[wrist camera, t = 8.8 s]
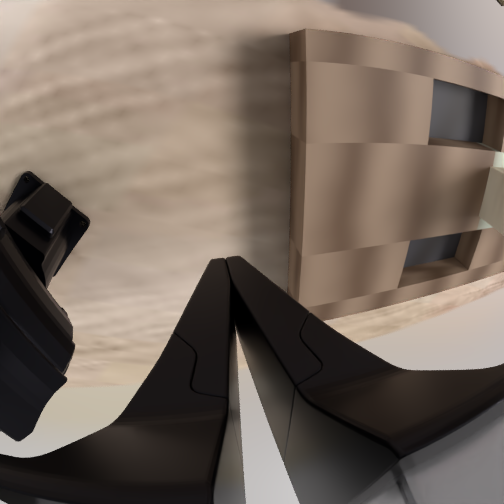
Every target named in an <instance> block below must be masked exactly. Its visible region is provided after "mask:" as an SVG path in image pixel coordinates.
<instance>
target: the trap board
mask: <svg viewBox="0 0 504 504" xmlns="http://www.w3.org/2000/svg"><path fill="white" fill-rule="evenodd" d="M289 37H290V77H291V196H290V239H289V269H288V295H290V296H291V297H292V298H294V299H295V300H296V301H297V302H299V303H300V304H301V305H302V306H304V307H305V308H306V309H307V310H309V312H311V313H313V314H314V315H315V316H316V317H318V318H319V319H320V320H322V321H325V320H330V319H334V318H339V317H343V316H348V315H352V314H357V313H361V312H365V311H370V310H374V309H378V308H382V307H386V306H390V305H394V304H398V303H402V302H405V301H409V300H413V299H417V298H420V297H424V296H427V295H431V294H435V293H438V292H441V291H445V290H448V289H452V288H455V287H458V286H461V285H465V284H468V283H471V282H474V281H477V280H480V279H484V278H487V277H490V276H493V275H496V274H498V273H501V272H504V235H502V234H501V233H500V232H498V231H497V230H496V229H495V228H493V227H492V226H491V225H489V224H488V223H487V222H486V221H484V220H483V219H482V218H480V217H479V213H480V210H481V206H482V202H483V198H484V194H485V190H486V186H487V181H488V177H489V172H490V167H501V168H504V77H503V76H501V75H498V74H496V73H493V72H491V71H489V70H486V69H484V68H481V67H478V66H476V65H473V64H470V63H467V62H465V61H462V60H459V59H456V58H453V57H450V56H447V55H443V54H440V53H437V52H433V51H430V50H426V49H423V48H419V47H415V46H411V45H407V44H403V43H398V42H394V41H389V40H384V39H379V38H374V37H368V36H362V35H356V34H349V33H342V32H334V31H324V30H314V29H303V30H300V31H297V32H293V33H290V34H289Z"/></svg>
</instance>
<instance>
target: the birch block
mask: <svg viewBox="0 0 504 504" xmlns="http://www.w3.org/2000/svg"><path fill="white" fill-rule="evenodd" d="M479 217H480V218H482V219H483V220H484V221H486V222H487V223H488V224H489V225H491V226H492V227H493V228H495V229H496V230H497V231H498V232H500V233H501V234H502V235H504V168H501V167H490V172H489V177H488V181H487V186H486V190H485V194H484V198H483V202H482V206H481V210H480V213H479Z"/></svg>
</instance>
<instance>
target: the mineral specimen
mask: <svg viewBox="0 0 504 504" xmlns="http://www.w3.org/2000/svg"><path fill="white" fill-rule="evenodd" d="M497 2H498V3H499V4H500V5H501V6H504V0H497Z"/></svg>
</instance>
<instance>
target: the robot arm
mask: <svg viewBox="0 0 504 504" xmlns="http://www.w3.org/2000/svg"><path fill="white" fill-rule="evenodd" d="M26 176H28V177H29V181H28V180H27V179H26ZM81 221H84V222H85V223H86V225H83V224H82V223H81ZM89 225H90V220H89V218H88V217H87V216H86V215H84V214H83V213H82V212H80V211H79V210H78V209H77V208H75V207H74V206H73V205H72V203H71V202H70V201H69V200H68V199H66V198H65V197H64V196H63V195H61V194H60V193H59V192H58V191H56V190H55V189H54V188H53V187H51V186H50V185H49V184H48V183H44V182H43V181H42V180H40V179H39V178H38V177H37V176H36V175H34V174H33V173H32V172H30V171H26V172H25V173H24V174H23V175H22V176H21V178H20V180H19V181H18V183H17V185H16V187H15V189H14V191H13V193H12V195H11V197H10V199H9V201H8V203H7V205H6V207H5V210H4V212H3V213H2V214H1V215H0V431H2V432H4V433H5V434H6V435H8V436H9V437H11V438H12V439H14V440H15V441H21V440H22V439H24V438H25V437H27V436H28V435H29V434H31V433H32V432H33V430H34V428H35V425H36V423H37V421H38V418H39V417H40V414H41V412H42V411H43V408H44V407H45V405H46V404H47V402H48V401H49V400H50V398H51V397H52V396H53V394H54V393H55V392H56V391H57V390H58V389H59V388H60V387H62V386H63V385H64V384H65V383H66V382H67V377H65V376H64V374H65V373H66V371H67V369H68V366H69V363H70V361H71V359H72V356H73V353H74V350H75V343H74V342H73V341H72V339H73V326H72V324H71V322H70V320H69V318H68V315H67V313H66V311H65V310H64V309H63V308H61V307H60V306H59V305H58V303H57V302H56V301H55V299H54V298H53V297H52V295H51V294H50V293H49V291H48V290H47V288H48V286H49V283H50V281H51V279H52V277H53V276H55V275H56V274H57V272H58V271H59V269H60V268H61V266H62V265H63V263H64V262H65V260H66V259H67V257H68V256H69V254H70V253H71V251H72V250H73V248H74V247H75V246H76V244H77V243H78V241H79V240H80V238H81V237H82V236H83V234H84V233H85V232H86V230H87V229H88V227H89ZM235 326H236V328H235ZM236 331H237V334H238V337H239V340H240V343H241V346H242V349H243V352H244V355H245V358H246V361H247V364H248V367H249V370H250V372H251V375H252V378H253V381H254V384H255V386H256V389H257V392H258V395H259V398H260V401H261V404H262V406H263V409H264V412H265V415H266V417H267V420H268V423H269V425H270V428H271V431H272V433H273V436H274V439H275V441H276V444H277V447H278V449H279V452H280V455H281V457H282V460H283V462H284V465H285V468H286V470H287V473H288V475H289V478H290V481H291V483H292V485H293V488H294V491H295V493H296V496H297V498H298V500H299V503H300V504H504V363H503V364H501V365H498V366H495V367H490V368H484V369H474V370H473V369H472V370H431V371H429V370H423V371H420V370H406V369H402V368H399V367H396V366H394V365H392V364H390V363H388V362H386V361H384V360H383V359H381V358H379V357H378V356H376V355H374V354H373V353H371V352H369V351H368V350H366V349H364V348H362V347H361V346H359V345H358V344H356V343H354V342H353V341H351V340H349V339H348V338H346V337H345V336H343V335H342V334H340V333H339V332H337V331H335V330H334V329H333V328H331V327H330V326H328V325H327V324H326V323H324V322H323V321H322V320H320V319H319V318H318V317H316V316H315V315H314V314H313V313H311V312H309V310H307V309H306V308H305V307H304V306H302V305H301V304H300V303H299V302H297V301H296V300H295V299H294V298H292V297H291V296H290V295H288V294H287V293H286V292H285V291H283V290H282V289H281V288H280V287H278V286H277V285H276V284H275V283H273V282H272V281H271V280H270V279H268V278H267V277H266V276H265V275H263V274H262V273H261V272H260V271H258V270H257V269H256V268H255V267H253V266H252V265H251V264H250V263H248V262H247V261H246V260H244V259H243V258H242V257H241V256H232V257H227V258H226V260H225V258H217V259H211V260H210V262H209V264H208V266H207V268H206V269H205V271H204V273H203V275H202V277H201V279H200V281H199V283H198V285H197V287H196V289H195V290H194V292H193V294H192V296H191V298H190V300H189V302H188V304H187V306H186V308H185V310H184V312H183V314H182V316H181V318H180V320H179V322H178V324H177V325H176V327H175V329H174V331H173V334H172V335H171V337H170V339H169V341H168V343H167V345H166V347H165V349H164V350H163V352H162V354H161V356H160V358H159V359H158V361H157V362H156V364H155V366H154V367H153V369H152V370H151V372H150V373H149V375H148V376H147V378H146V379H145V381H144V382H143V383H142V385H141V386H140V388H139V389H138V391H137V392H136V394H135V395H134V397H133V398H132V400H131V401H130V402H129V404H128V406H127V407H126V408H125V410H124V411H123V412H122V414H121V415H120V416H119V417H118V418H117V419H116V420H115V421H114V422H113V423H111V424H110V425H109V426H107V427H105V428H103V429H101V430H99V431H97V432H95V433H93V434H91V435H88V436H86V437H84V438H82V439H80V440H77V441H75V442H73V443H71V444H68V445H66V446H64V447H61V448H59V449H57V450H55V451H52V452H50V453H47V454H44V455H41V456H36V457H31V458H19V457H13V456H8V455H3V454H0V500H2V501H4V502H6V503H7V504H246V500H245V486H244V472H243V456H242V439H241V421H240V403H239V384H238V363H237V340H236Z"/></svg>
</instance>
